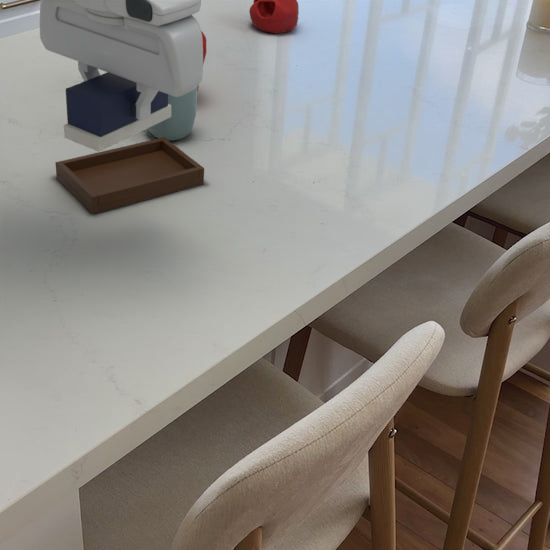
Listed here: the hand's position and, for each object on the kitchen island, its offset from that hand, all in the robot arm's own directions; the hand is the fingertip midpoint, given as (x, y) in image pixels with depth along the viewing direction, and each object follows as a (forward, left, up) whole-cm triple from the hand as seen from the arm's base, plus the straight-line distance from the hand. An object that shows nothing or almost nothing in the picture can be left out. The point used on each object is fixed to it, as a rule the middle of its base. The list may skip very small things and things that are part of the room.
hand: (119, 109), depth 97 cm
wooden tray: (+8, +13, -17) cm, 23 cm away
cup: (+20, +23, -18) cm, 35 cm away
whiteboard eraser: (0, 0, -2) cm, 2 cm away
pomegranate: (+63, +55, -18) cm, 85 cm away
